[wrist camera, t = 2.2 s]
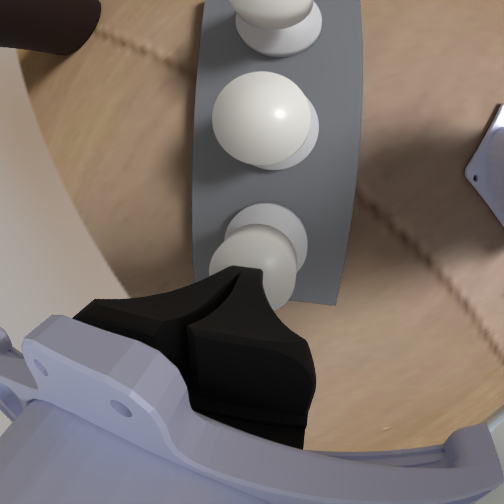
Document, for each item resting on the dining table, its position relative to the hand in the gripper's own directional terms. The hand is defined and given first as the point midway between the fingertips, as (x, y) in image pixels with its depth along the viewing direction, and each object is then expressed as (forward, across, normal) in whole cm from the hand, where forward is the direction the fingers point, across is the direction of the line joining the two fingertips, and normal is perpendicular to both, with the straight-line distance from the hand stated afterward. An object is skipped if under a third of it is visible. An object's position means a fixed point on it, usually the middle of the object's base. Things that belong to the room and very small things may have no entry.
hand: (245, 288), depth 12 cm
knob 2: (+3, 0, -7) cm, 8 cm away
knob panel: (+8, 0, -7) cm, 11 cm away
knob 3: (+3, 0, 0) cm, 3 cm away
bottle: (+8, +19, -19) cm, 29 cm away
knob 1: (+3, 0, -14) cm, 14 cm away
